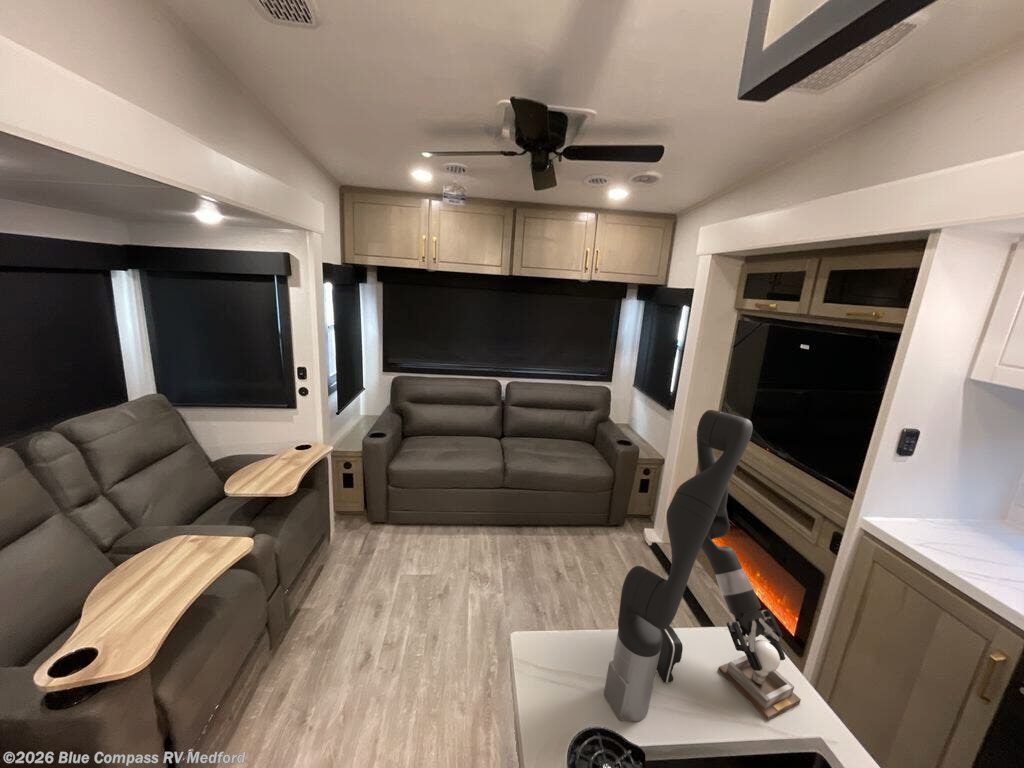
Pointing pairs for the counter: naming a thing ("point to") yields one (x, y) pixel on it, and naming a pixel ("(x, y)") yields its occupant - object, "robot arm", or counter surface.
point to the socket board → (761, 688)
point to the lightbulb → (765, 660)
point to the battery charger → (669, 654)
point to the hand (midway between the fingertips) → (770, 664)
